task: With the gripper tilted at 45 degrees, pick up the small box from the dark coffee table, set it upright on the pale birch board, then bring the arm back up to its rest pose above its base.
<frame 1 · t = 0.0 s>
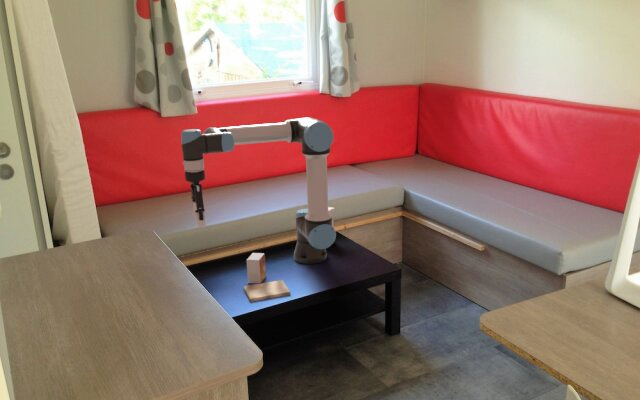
hand: (199, 222, 217), 28 cm above the table, tool pointing down, fingers open, 13 cm apart
birch board: (266, 291, 219), on the table
milk carton: (325, 244, 268), on the table
small box: (257, 280, 230), on the table
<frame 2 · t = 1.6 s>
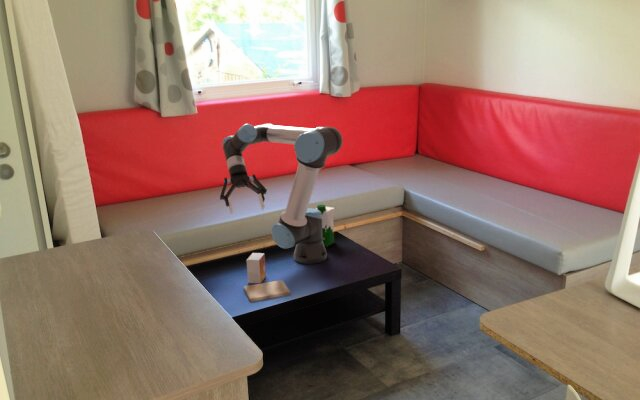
hand: (247, 210, 232), 28 cm above the table, tool tilted 45°, fingers open, 13 cm apart
nothing on the table moved.
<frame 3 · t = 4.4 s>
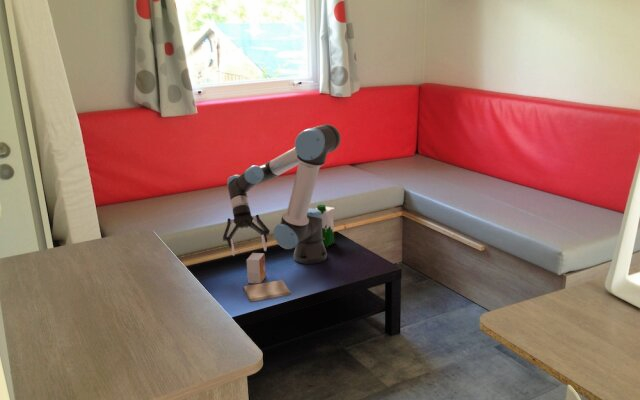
hand: (249, 251, 233), 10 cm above the table, tool tilted 45°, fingers open, 13 cm apart
nothing on the table moved.
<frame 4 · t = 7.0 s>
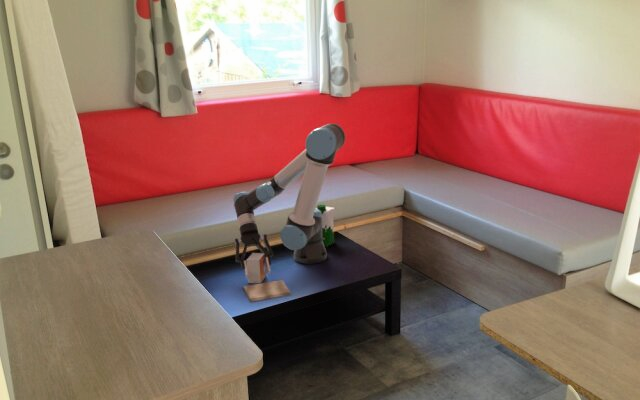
hand: (258, 274, 226), 4 cm above the table, tool tilted 45°, fingers closed on small box, 8 cm apart
small box: (257, 280, 230), on the table, touching gripper
everything else where it was.
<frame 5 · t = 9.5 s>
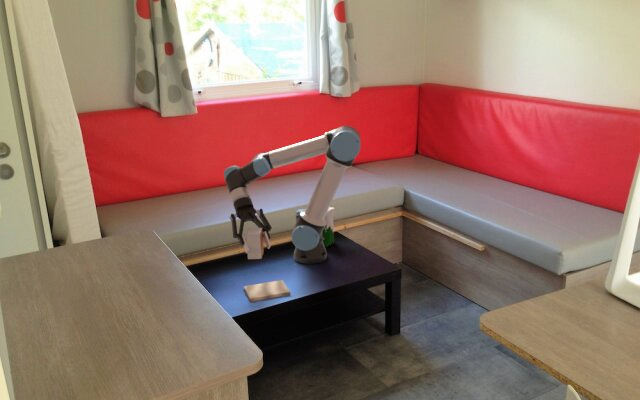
hand: (258, 249, 217), 17 cm above the table, tool tilted 45°, fingers closed on small box, 8 cm apart
small box: (256, 256, 221), point 13 cm above the table, touching gripper
everything else where it was.
when the fingers open (6 cm above the table, at t = 12.4 s): small box drops 1 cm, resting on birch board.
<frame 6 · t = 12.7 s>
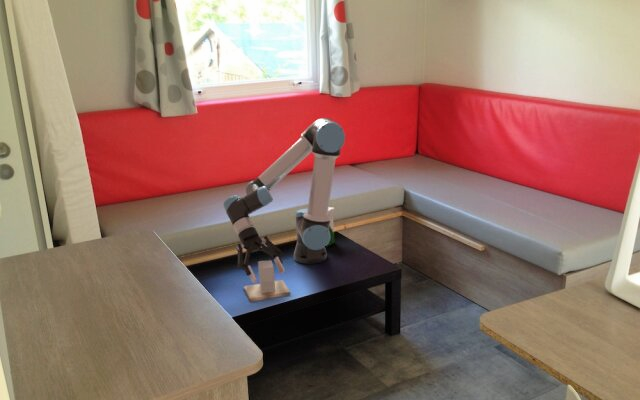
hand: (269, 276, 215), 7 cm above the table, tool tilted 45°, fingers open, 12 cm apart
small box: (267, 289, 219), point 1 cm above the table, touching birch board
everything else where it was.
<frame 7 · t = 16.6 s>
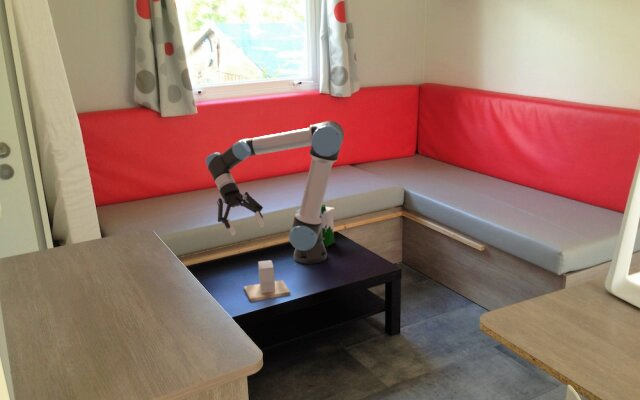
hand: (248, 230, 221), 23 cm above the table, tool tilted 45°, fingers open, 13 cm apart
nothing on the table moved.
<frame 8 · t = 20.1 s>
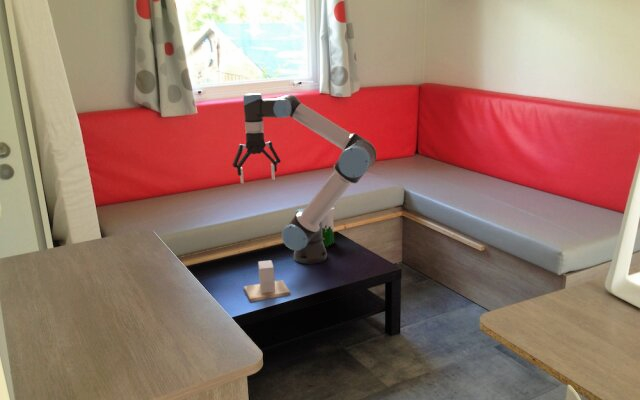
hand: (257, 181, 234), 39 cm above the table, tool pointing down, fingers open, 13 cm apart
nothing on the table moved.
at the end: small box inside the target area on the birch board (0.4 cm from its centre), point 1.0 cm above the birch board's base; small box tilted 0°; the gripper is holding nothing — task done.
